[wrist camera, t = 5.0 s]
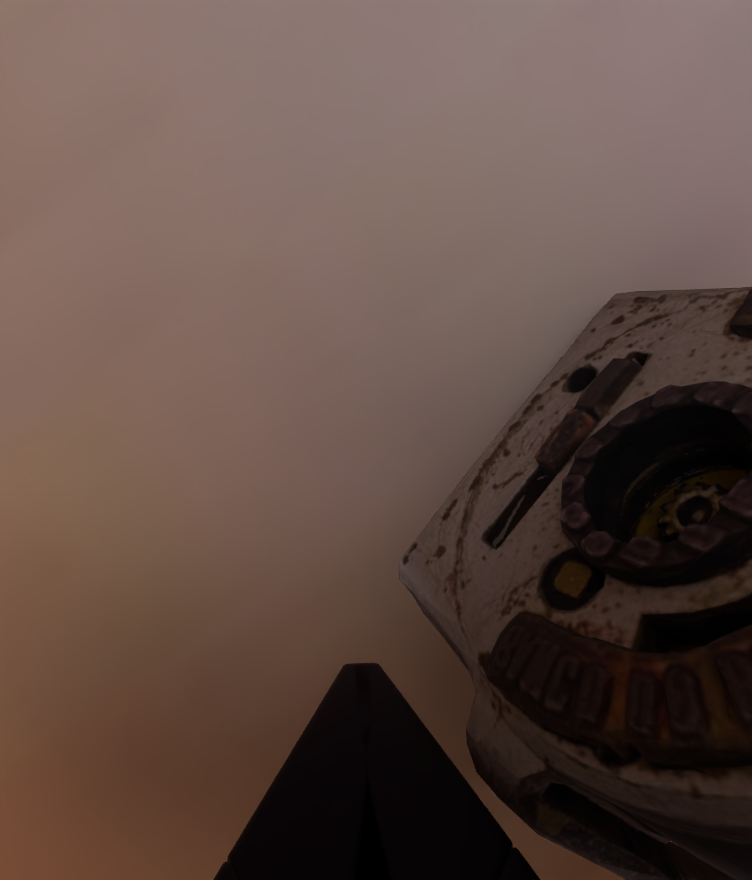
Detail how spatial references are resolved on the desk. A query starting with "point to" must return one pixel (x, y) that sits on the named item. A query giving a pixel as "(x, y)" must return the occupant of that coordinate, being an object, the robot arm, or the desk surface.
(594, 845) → the mechanical counter
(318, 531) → the desk surface
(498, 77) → the desk surface
